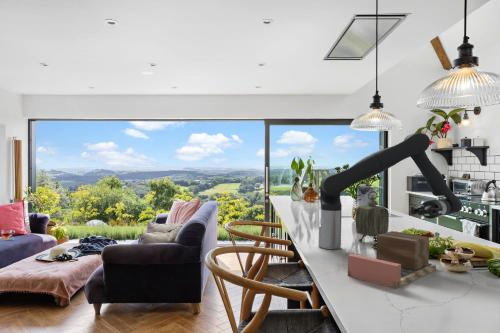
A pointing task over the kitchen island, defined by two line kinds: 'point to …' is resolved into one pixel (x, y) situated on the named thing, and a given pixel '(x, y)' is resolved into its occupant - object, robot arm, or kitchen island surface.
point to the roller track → (384, 271)
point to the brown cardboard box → (403, 249)
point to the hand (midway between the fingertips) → (416, 212)
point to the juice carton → (365, 194)
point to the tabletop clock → (371, 219)
